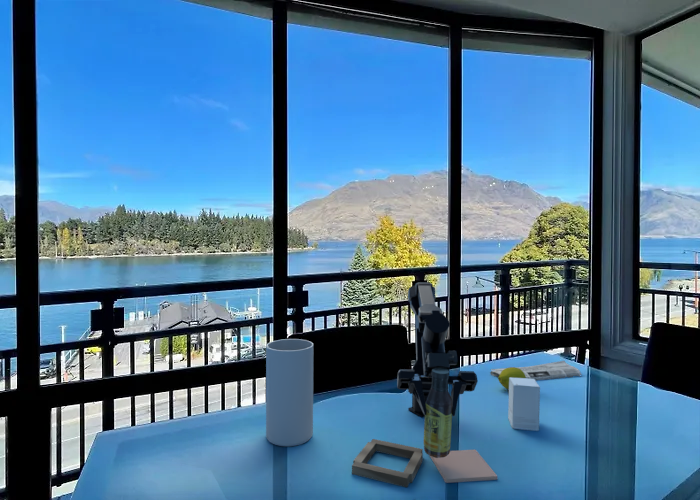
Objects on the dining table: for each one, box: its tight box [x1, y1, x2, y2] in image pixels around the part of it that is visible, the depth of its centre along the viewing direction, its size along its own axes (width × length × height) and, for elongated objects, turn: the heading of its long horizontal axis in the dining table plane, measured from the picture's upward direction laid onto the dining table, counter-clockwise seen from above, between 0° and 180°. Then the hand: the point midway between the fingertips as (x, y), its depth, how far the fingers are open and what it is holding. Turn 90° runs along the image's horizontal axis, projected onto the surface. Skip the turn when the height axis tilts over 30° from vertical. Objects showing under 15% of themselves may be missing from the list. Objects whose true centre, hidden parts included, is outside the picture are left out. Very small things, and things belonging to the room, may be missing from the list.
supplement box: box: [507, 378, 541, 432], centre depth 125 cm, size 7×7×13 cm
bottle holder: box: [351, 438, 424, 488], centre depth 102 cm, size 14×14×2 cm
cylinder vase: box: [265, 338, 314, 447], centre depth 116 cm, size 12×12×25 cm
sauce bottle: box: [423, 368, 453, 458], centre depth 101 cm, size 6×6×20 cm
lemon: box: [497, 366, 526, 390], centre depth 153 cm, size 11×8×8 cm
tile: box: [428, 449, 498, 484], centre depth 102 cm, size 12×12×1 cm
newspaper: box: [489, 360, 582, 382], centre depth 170 cm, size 35×12×4 cm, turn 105°
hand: (439, 415), depth 99 cm, fingers closed on sauce bottle, 6 cm apart
